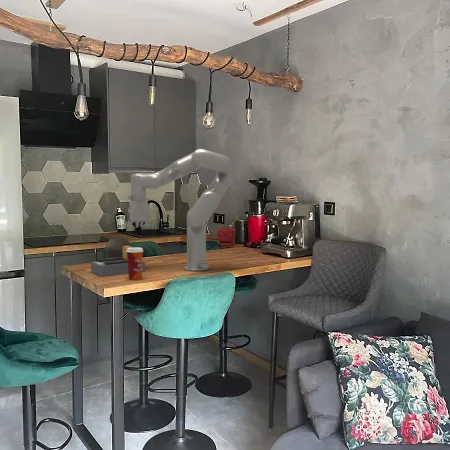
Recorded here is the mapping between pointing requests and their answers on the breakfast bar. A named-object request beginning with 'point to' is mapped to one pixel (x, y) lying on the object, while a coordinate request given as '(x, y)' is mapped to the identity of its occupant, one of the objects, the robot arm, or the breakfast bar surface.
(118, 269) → the grey open box
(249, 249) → the breakfast bar surface
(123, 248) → the lever
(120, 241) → the cantaloupe
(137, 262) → the paper cup
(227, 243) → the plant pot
